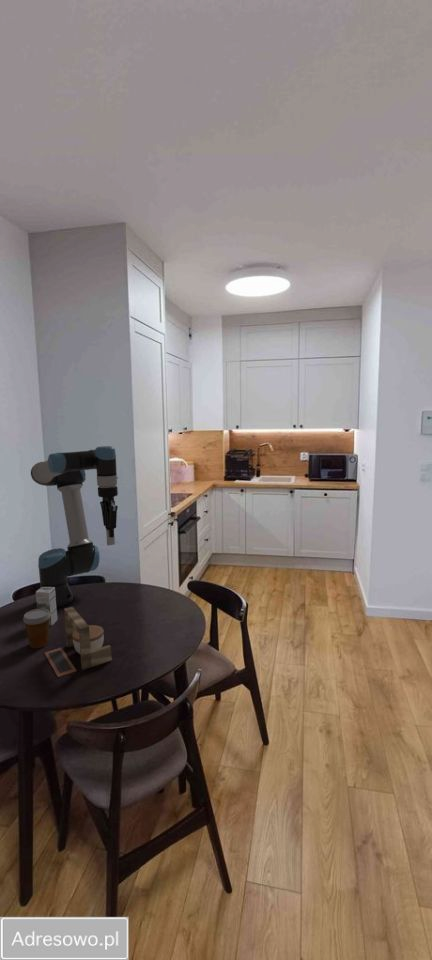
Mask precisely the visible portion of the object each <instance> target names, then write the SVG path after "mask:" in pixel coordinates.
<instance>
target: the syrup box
mask: <svg viewBox="0 0 432 960" xmlns="http://www.w3.org/2000/svg"><path fill="white" fill-rule="evenodd" d="M35 600H36V609H47V610H49V613H50V614H51V616H50V619H49V627H50V626H51V627H52V626H54V625H55V623H56V622H57V621H58V610H57V608H56V595H55V587H41V588H38V589H37V590H36V591H35Z"/></svg>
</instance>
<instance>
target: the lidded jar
mask: <svg viewBox="0 0 432 960" xmlns="http://www.w3.org/2000/svg"><path fill="white" fill-rule="evenodd" d="M88 626H89V633H90V648H91V651H92V650H95V649H98V648H101V647H103V644H104V640H105V639H104V637H105V635H104V632H105V630H104V628H103V627H102V626H101V625H100V626H99V625H95V624H93V625H92V624H91V625H89V624H88ZM72 638H73V644H74V646H73V647H74V649H75V651H76V652H77V654H79V655H81V653H80V639H79V633H78V632H77V631H76V630H75V631H74V632H73V634H72Z"/></svg>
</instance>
